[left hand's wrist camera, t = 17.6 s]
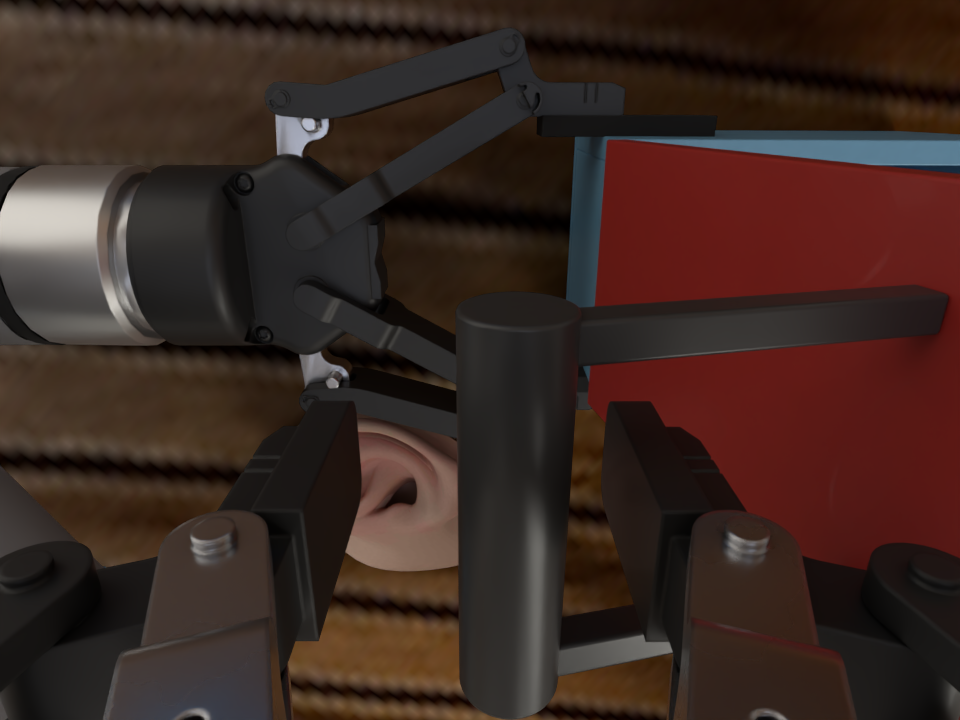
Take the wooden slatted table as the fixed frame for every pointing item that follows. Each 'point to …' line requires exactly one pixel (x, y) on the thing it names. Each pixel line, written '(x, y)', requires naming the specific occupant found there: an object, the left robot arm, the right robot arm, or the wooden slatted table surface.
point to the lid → (713, 384)
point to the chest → (826, 145)
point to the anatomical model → (405, 498)
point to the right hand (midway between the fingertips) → (687, 258)
